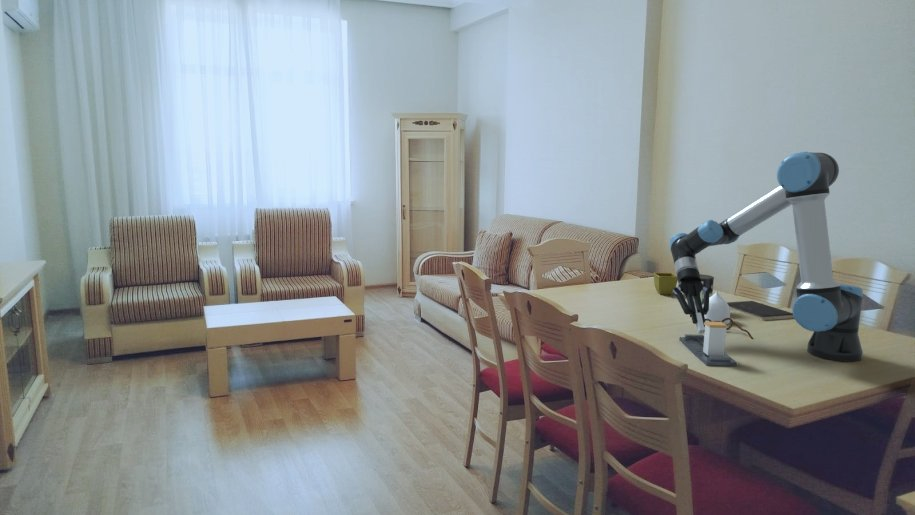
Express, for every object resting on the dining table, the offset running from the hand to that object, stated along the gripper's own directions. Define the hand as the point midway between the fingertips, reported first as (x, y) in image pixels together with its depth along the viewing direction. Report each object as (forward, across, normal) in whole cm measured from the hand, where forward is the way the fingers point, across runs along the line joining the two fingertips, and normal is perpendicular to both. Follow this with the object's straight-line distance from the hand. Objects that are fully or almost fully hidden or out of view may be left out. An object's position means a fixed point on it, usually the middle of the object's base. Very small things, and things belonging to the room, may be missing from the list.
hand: (701, 331), depth 204 cm
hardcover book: (-31, -41, -40) cm, 65 cm away
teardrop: (-21, -18, -29) cm, 40 cm away
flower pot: (-55, -13, -62) cm, 84 cm away
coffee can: (-33, -18, -41) cm, 56 cm away
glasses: (-7, -14, -15) cm, 22 cm away
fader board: (+8, 0, 0) cm, 8 cm away
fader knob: (+11, 0, +5) cm, 12 cm away
